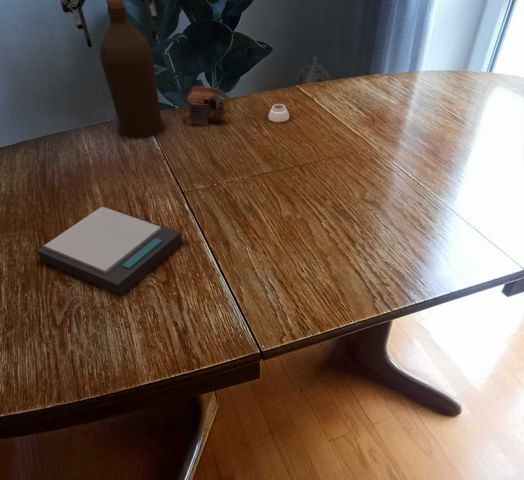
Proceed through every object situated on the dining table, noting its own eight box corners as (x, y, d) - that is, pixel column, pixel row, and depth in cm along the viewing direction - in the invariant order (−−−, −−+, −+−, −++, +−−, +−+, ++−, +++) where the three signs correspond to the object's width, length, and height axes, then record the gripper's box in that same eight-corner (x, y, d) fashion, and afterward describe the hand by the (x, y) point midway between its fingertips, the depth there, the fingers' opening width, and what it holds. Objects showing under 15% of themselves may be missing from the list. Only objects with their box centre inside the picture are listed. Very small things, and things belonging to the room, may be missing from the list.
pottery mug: (175, 124, 110) (176, 85, 108) (205, 131, 117) (207, 95, 115) (208, 123, 103) (211, 81, 100) (238, 130, 110) (241, 92, 107)
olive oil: (156, 142, 103) (129, 5, 84) (112, 139, 104) (76, 4, 86) (171, 122, 110) (149, -9, 91) (129, 120, 111) (99, -9, 93)
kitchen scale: (42, 263, 74) (35, 247, 72) (107, 218, 83) (102, 202, 81) (122, 297, 68) (116, 281, 66) (183, 245, 77) (180, 229, 75)
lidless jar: (283, 113, 112) (264, 117, 111) (284, 100, 110) (264, 104, 109) (292, 121, 109) (273, 125, 108) (293, 108, 107) (273, 112, 105)
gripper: (24, -78, 89) (57, 34, 91) (153, -87, 94) (181, 19, 96) (34, -46, 96) (64, 57, 98) (153, -56, 101) (179, 42, 103)
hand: (122, 39), depth 97 cm, fingers open, 13 cm apart
